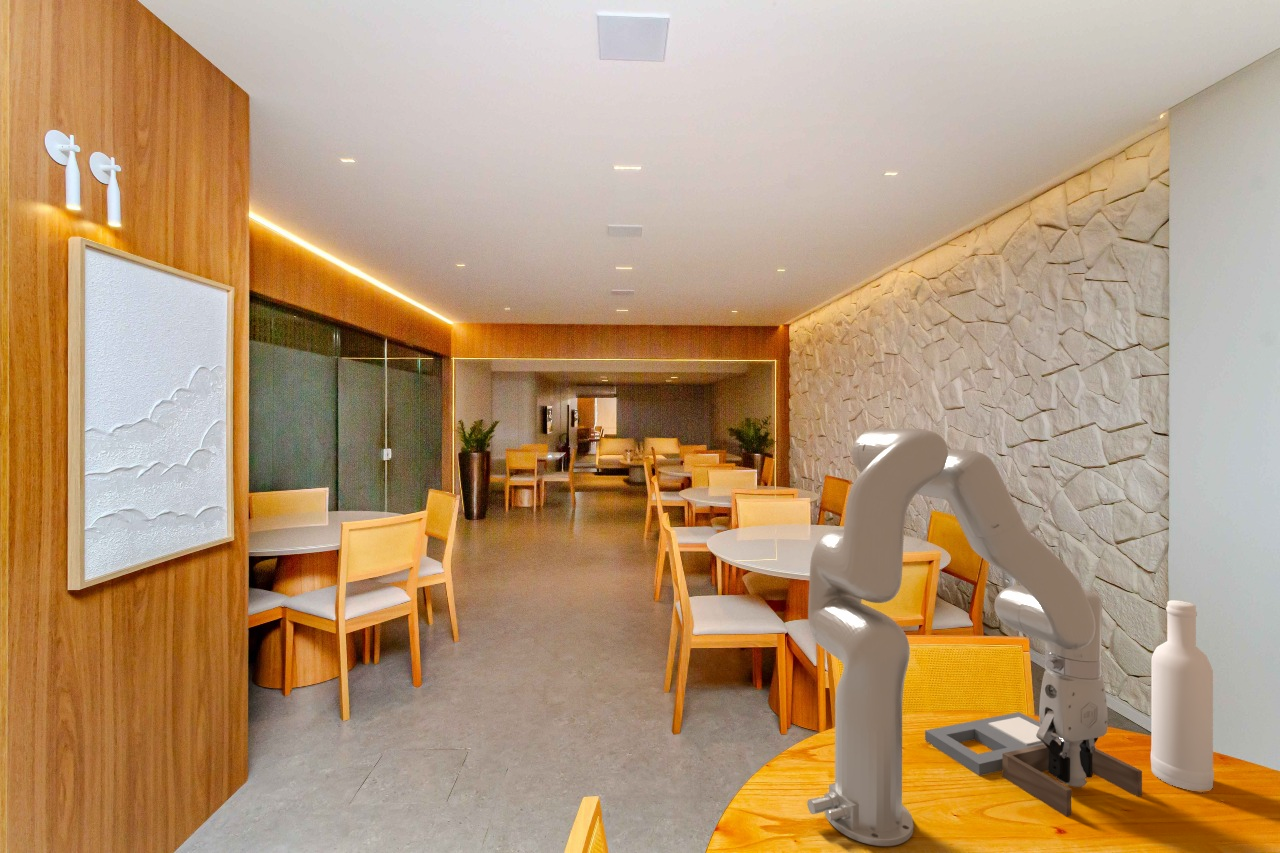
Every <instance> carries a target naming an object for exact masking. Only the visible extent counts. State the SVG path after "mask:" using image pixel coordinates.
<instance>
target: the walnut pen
mask: <svg viewBox="0 0 1280 853" xmlns="http://www.w3.org/2000/svg"><path fill="white" fill-rule="evenodd" d="M1056 742H1057V743H1058V744H1059V745H1060V743H1061V741H1056ZM1090 753H1091V752H1090ZM1092 754H1093V756H1092V774H1094V775H1096V776H1098V777H1099V778H1102V779H1104V780H1106V781H1107V782H1108V783H1111V784H1113V785H1115V786H1117V787H1118V788H1120V789H1121V790H1124V791H1126V792H1127V793H1130V794H1132V795H1133V796H1135V795H1136V796H1135V797H1137V796H1138V798H1139V797H1141V795H1142V796H1143V770H1141V769H1139V768H1137V767H1135V766H1133V765H1131V764H1128V763H1127V762H1125V761H1122V760H1121V759H1118V758H1117V757H1114V756H1113V755H1110V754H1109V753H1106V752H1104V751H1102V750H1100V749H1098V748H1096V747H1095V751H1094V752H1093V753H1092ZM1048 765H1049V750H1047V749H1046V745H1045V744H1043V745H1038V746H1034V747H1029V748H1025V749H1020V750H1016V751H1011V752H1007V753H1003V754H1002V770H1001V771H1002V778H1003V779H1005V780H1006V781H1009V782H1010V783H1012V784H1013V785H1015V786H1016V787H1019V789H1022V790H1023V791H1025V792H1026V793H1028V794H1029V795H1031V796H1033V798H1036V799H1038V800H1039V801H1041V802H1042V803H1044V804H1045V805H1047V806H1048V807H1050V808H1053V810H1056V811H1057V812H1059V813H1060V814H1061V815H1063V816H1064V817H1071V816H1072V788H1070V787H1069V786H1067V785H1066V784H1064V783H1062V782H1061V781H1059V780H1058V781H1057V779H1054V778H1053V777H1051V776H1049V775H1047V774H1046V773H1044V772H1046V771H1047V772H1049V771H1048Z"/></svg>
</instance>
